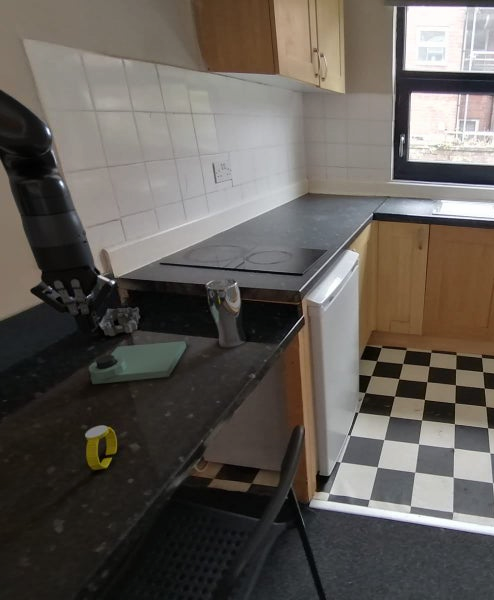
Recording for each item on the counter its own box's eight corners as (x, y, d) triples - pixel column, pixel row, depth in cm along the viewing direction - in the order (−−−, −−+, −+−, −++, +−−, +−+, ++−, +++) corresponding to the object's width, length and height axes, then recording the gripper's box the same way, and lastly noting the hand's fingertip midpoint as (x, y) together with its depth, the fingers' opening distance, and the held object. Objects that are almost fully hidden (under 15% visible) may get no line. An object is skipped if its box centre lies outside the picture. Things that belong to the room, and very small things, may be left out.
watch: (109, 475, 60) (97, 445, 57) (88, 478, 59) (74, 448, 57) (125, 446, 65) (114, 417, 63) (106, 449, 64) (94, 419, 62)
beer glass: (210, 347, 93) (197, 287, 87) (230, 333, 99) (219, 276, 93) (235, 351, 91) (223, 291, 85) (254, 337, 98) (244, 279, 91)
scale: (88, 388, 79) (82, 373, 77) (118, 354, 91) (113, 340, 89) (167, 380, 81) (163, 366, 80) (186, 348, 93) (183, 334, 91)
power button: (95, 370, 79) (92, 363, 79) (102, 362, 82) (100, 355, 81) (112, 368, 80) (109, 362, 79) (118, 360, 82) (116, 354, 82)
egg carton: (136, 333, 99) (132, 319, 97) (100, 339, 97) (95, 324, 95) (143, 315, 108) (139, 301, 106) (111, 320, 106) (106, 306, 104)
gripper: (-4, 247, 62) (37, 344, 69) (91, 242, 65) (122, 336, 72) (26, 234, 69) (61, 324, 76) (112, 231, 71) (138, 318, 78)
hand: (90, 330), depth 74 cm, fingers closed
